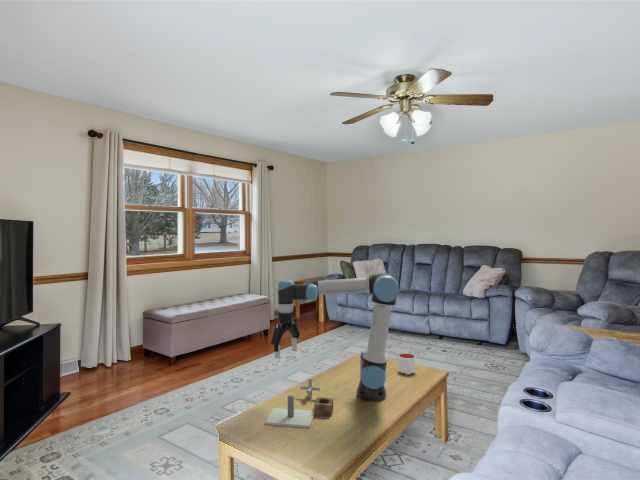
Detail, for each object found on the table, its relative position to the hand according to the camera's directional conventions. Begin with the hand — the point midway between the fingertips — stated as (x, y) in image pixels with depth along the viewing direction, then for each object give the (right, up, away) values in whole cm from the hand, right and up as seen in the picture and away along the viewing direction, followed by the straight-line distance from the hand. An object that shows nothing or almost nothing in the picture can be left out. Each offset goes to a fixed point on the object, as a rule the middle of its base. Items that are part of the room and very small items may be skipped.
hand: (286, 354), depth 189 cm
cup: (+70, -24, +43) cm, 86 cm away
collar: (+19, -24, -9) cm, 32 cm away
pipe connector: (+12, -24, +6) cm, 28 cm away
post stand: (+3, -24, -16) cm, 29 cm away
